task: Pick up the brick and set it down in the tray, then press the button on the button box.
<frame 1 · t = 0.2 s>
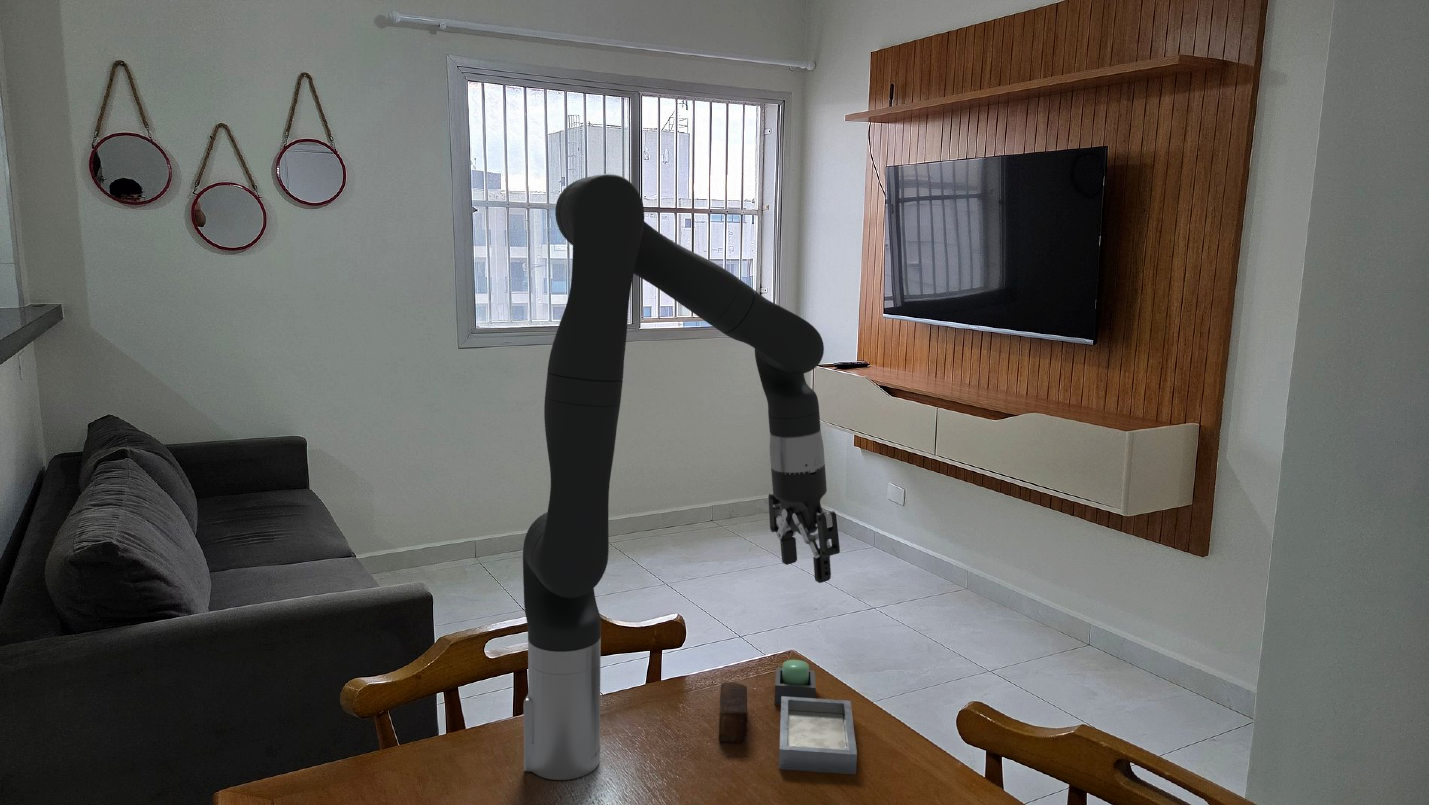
hand: (806, 571, 134), 22 cm above the table, tool pointing down, fingers open, 8 cm apart
button box: (794, 696, 144), on the table
brick: (732, 727, 135), on the table
tray: (816, 742, 130), on the table
button: (795, 673, 143), point 4 cm above the table, slide at 0.0 cm
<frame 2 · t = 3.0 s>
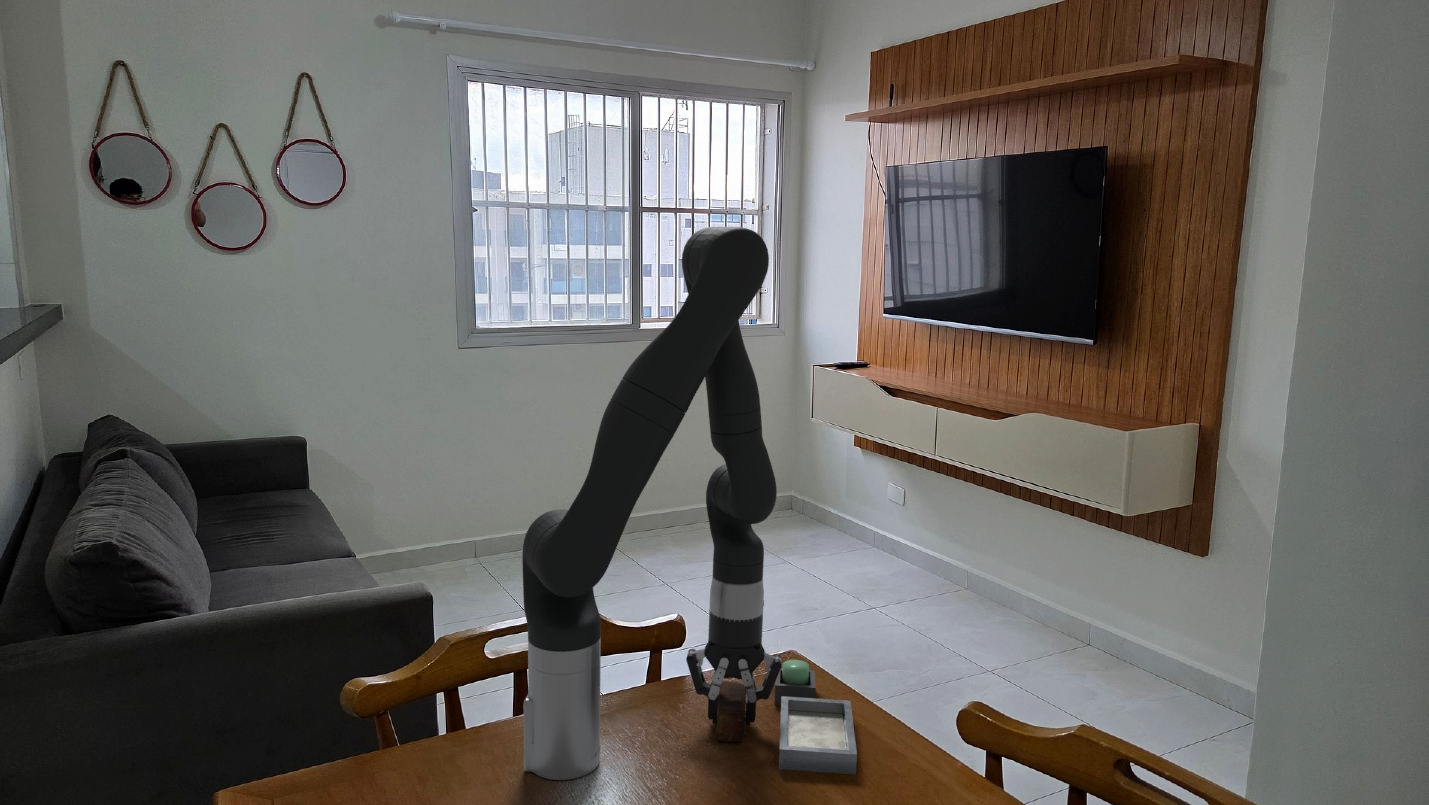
hand: (731, 722, 134), 0 cm above the table, tool pointing down, fingers closed on brick, 4 cm apart
brick: (731, 726, 134), on the table, touching gripper
everything else where it was.
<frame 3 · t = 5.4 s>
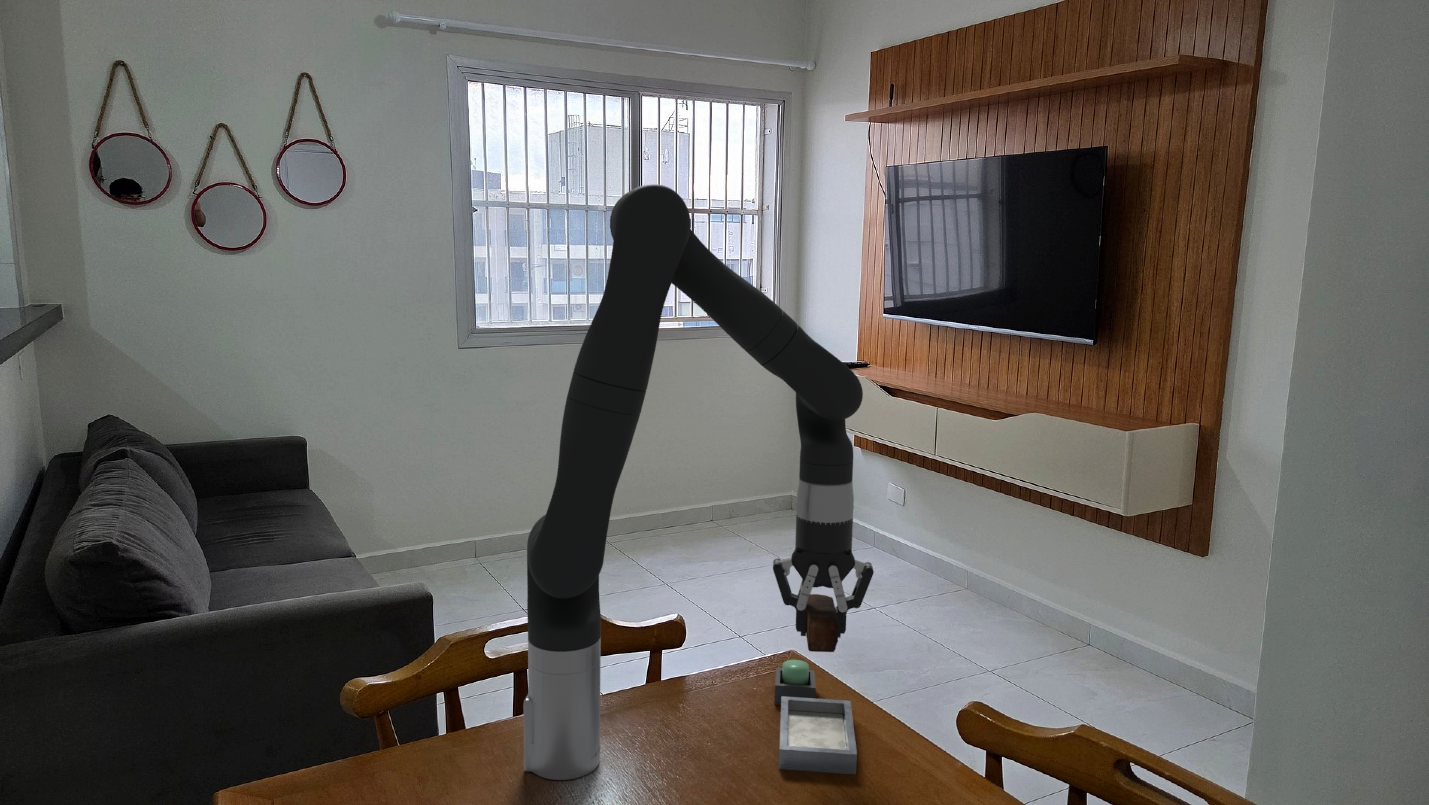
hand: (820, 634, 128), 16 cm above the table, tool pointing down, fingers closed on brick, 4 cm apart
brick: (820, 638, 128), point 15 cm above the table, touching gripper
everything else where it was.
when the fingers open (3 cm above the table, at t = 7.7 s): brick stays where it is, resting on tray.
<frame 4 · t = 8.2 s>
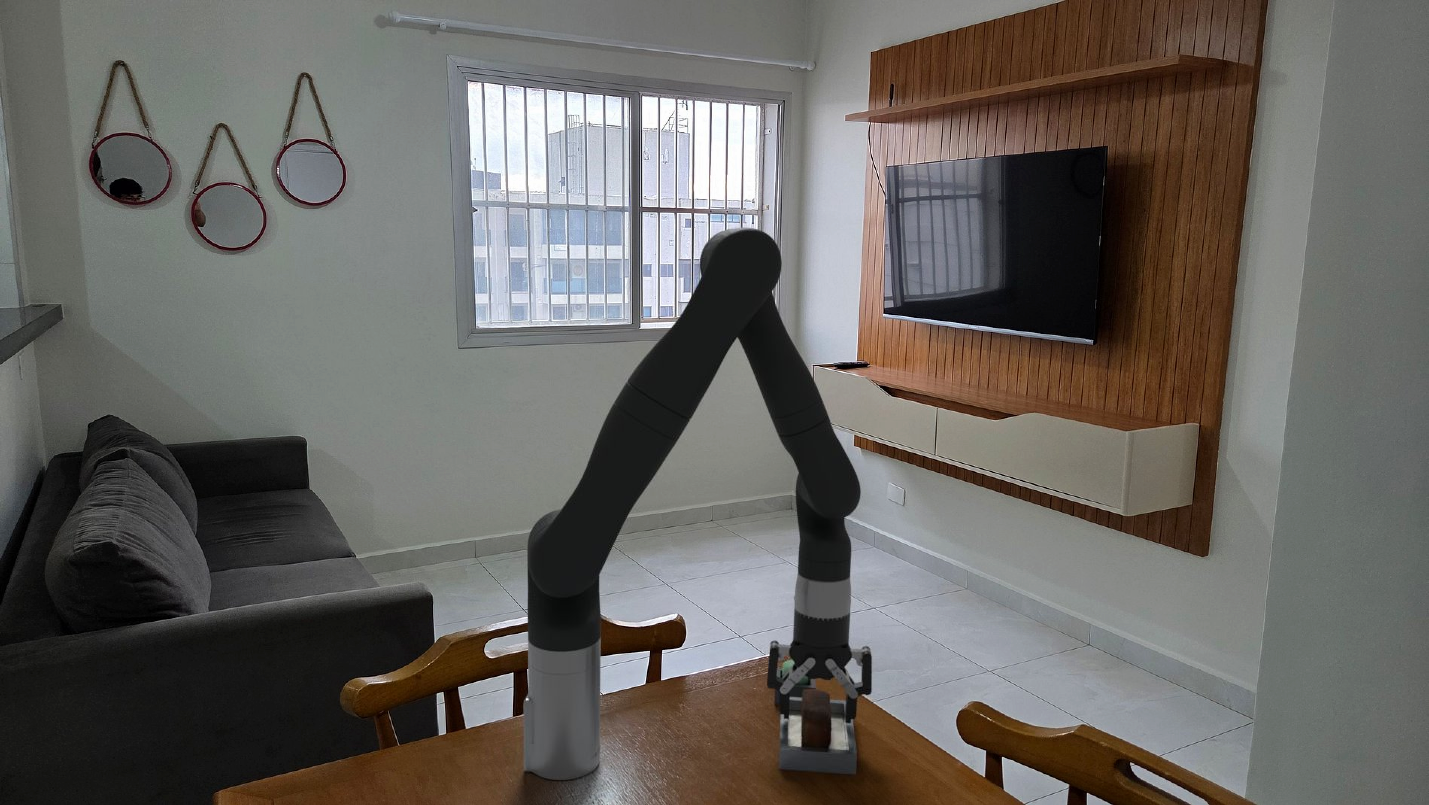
hand: (817, 718, 130), 4 cm above the table, tool pointing down, fingers open, 8 cm apart
brick: (814, 735, 130), point 1 cm above the table, touching tray
everything else where it was.
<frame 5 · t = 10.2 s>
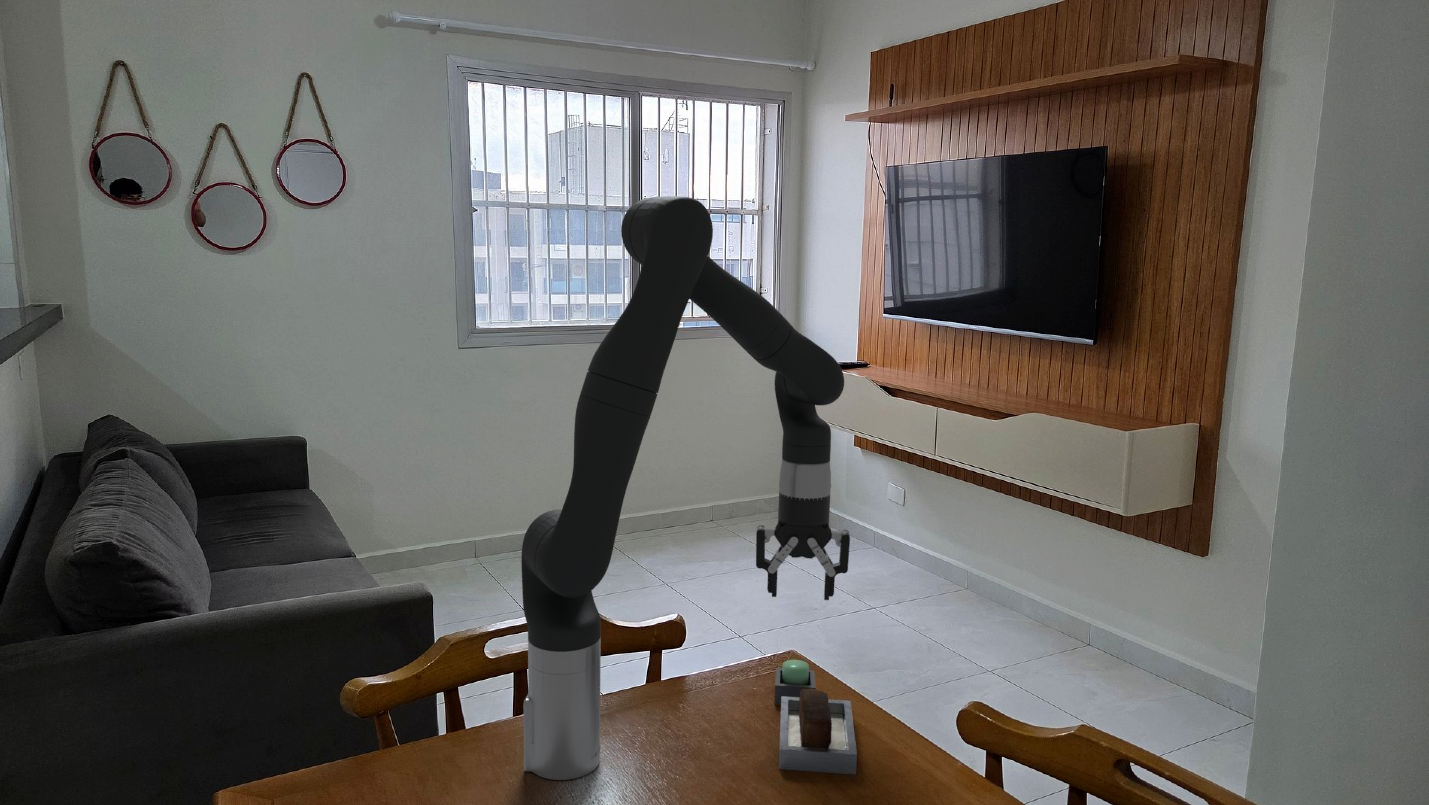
hand: (800, 596, 141), 16 cm above the table, tool pointing down, fingers open, 7 cm apart
nothing on the table moved.
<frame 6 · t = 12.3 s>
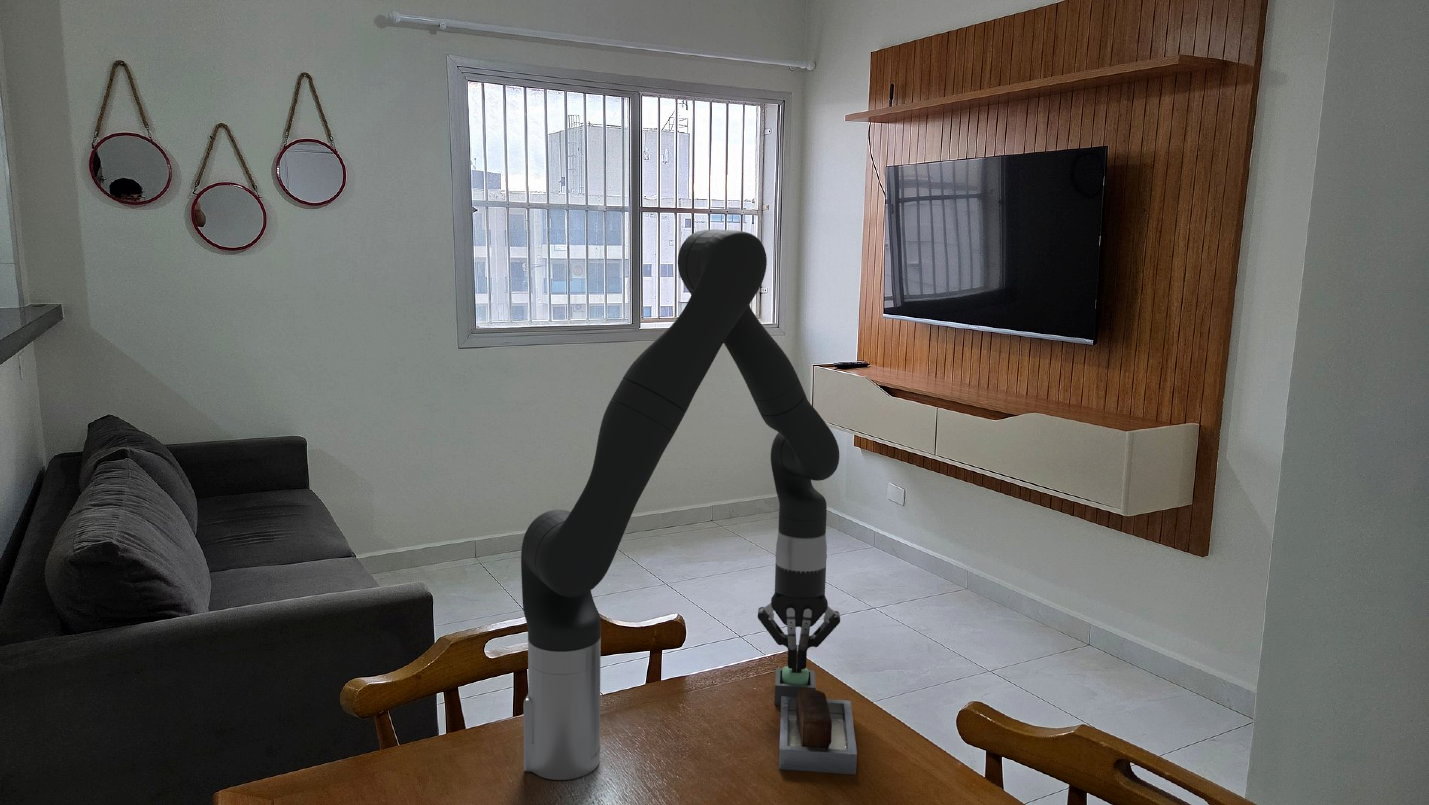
hand: (796, 670, 143), 4 cm above the table, tool pointing down, fingers closed
button: (795, 678, 143), point 3 cm above the table, slide at 0.9 cm, touching gripper
everything else where it was.
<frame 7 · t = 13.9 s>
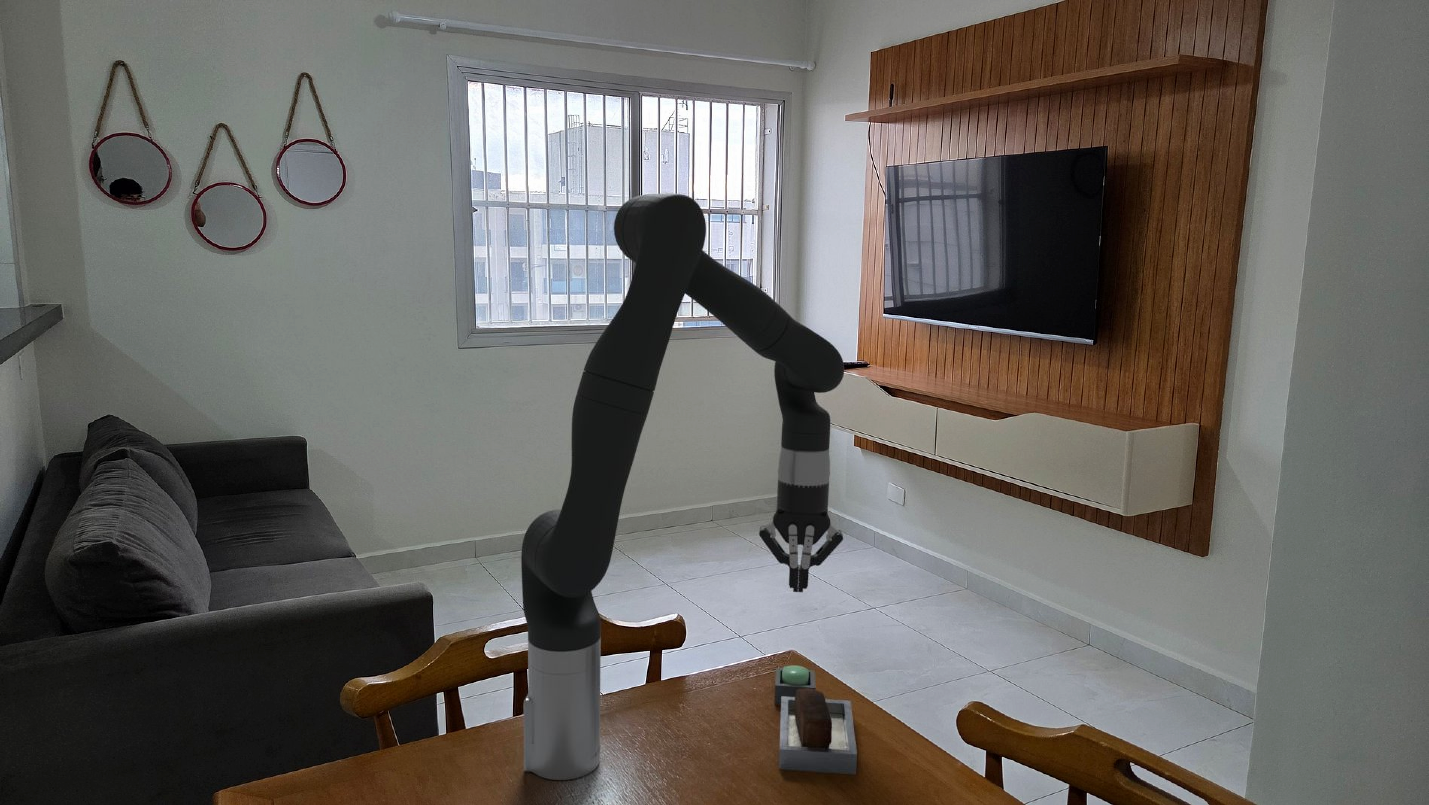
hand: (798, 590, 141), 17 cm above the table, tool pointing down, fingers closed
button: (795, 678, 143), point 3 cm above the table, slide at 0.9 cm
everything else where it was.
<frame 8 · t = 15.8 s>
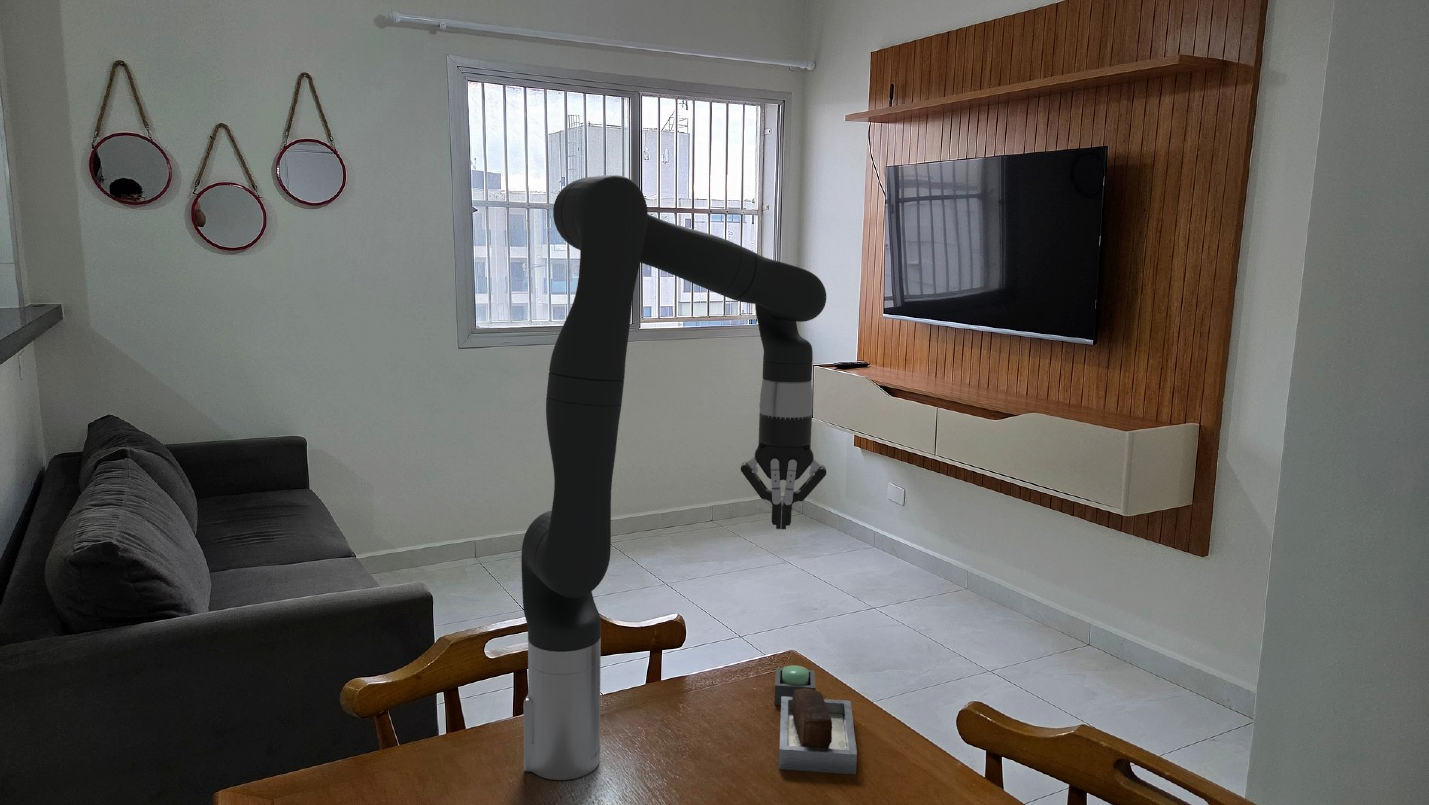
hand: (781, 527, 138), 27 cm above the table, tool pointing down, fingers closed
nothing on the table moved.
at the end: brick 0.8 cm off-centre on the tray, point 1.0 cm above the tray's base; brick tilted 0°; button slide at 0.9 cm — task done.
